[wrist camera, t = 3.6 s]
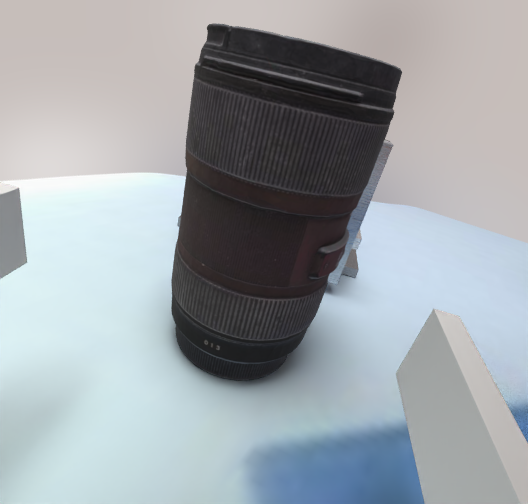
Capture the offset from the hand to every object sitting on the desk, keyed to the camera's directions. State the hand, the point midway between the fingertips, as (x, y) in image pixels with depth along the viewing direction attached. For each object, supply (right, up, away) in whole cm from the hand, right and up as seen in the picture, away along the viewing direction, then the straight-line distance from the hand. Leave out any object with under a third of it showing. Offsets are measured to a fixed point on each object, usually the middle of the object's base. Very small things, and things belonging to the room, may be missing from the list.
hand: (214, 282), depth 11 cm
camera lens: (0, -4, +10) cm, 10 cm away
